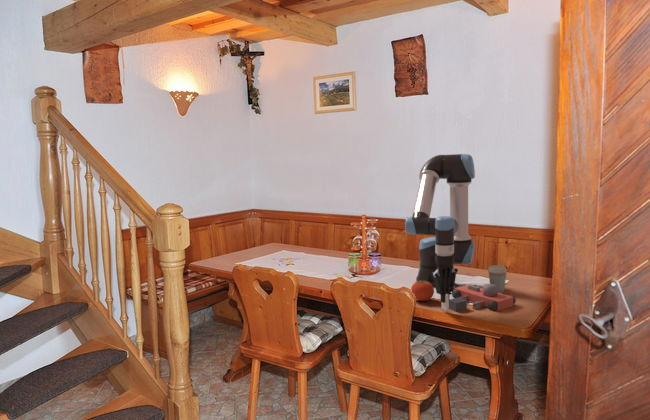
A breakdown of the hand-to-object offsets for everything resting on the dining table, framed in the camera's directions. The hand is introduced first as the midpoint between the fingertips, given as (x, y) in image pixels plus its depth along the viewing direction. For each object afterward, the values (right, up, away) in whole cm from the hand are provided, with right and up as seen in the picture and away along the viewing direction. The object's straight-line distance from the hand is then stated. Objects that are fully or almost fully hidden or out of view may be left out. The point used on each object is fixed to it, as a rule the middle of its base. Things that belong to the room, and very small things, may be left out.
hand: (445, 309), depth 199 cm
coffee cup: (+31, +3, +25) cm, 40 cm away
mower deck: (+20, +1, +12) cm, 23 cm away
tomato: (-6, 0, +16) cm, 17 cm away
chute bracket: (+13, 0, +8) cm, 15 cm away
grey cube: (+6, -1, +4) cm, 7 cm away
